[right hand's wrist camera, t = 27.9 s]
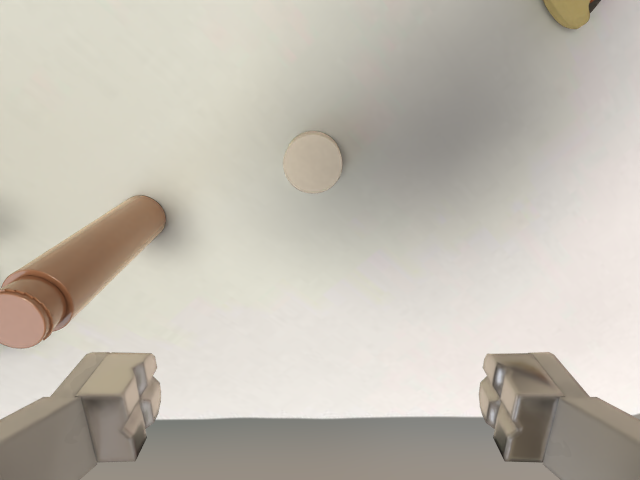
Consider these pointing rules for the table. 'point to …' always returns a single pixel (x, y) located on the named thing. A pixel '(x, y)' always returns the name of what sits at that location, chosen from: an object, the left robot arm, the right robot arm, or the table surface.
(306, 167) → the lid
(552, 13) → the toy gun
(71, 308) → the jar
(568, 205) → the table surface
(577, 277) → the table surface
